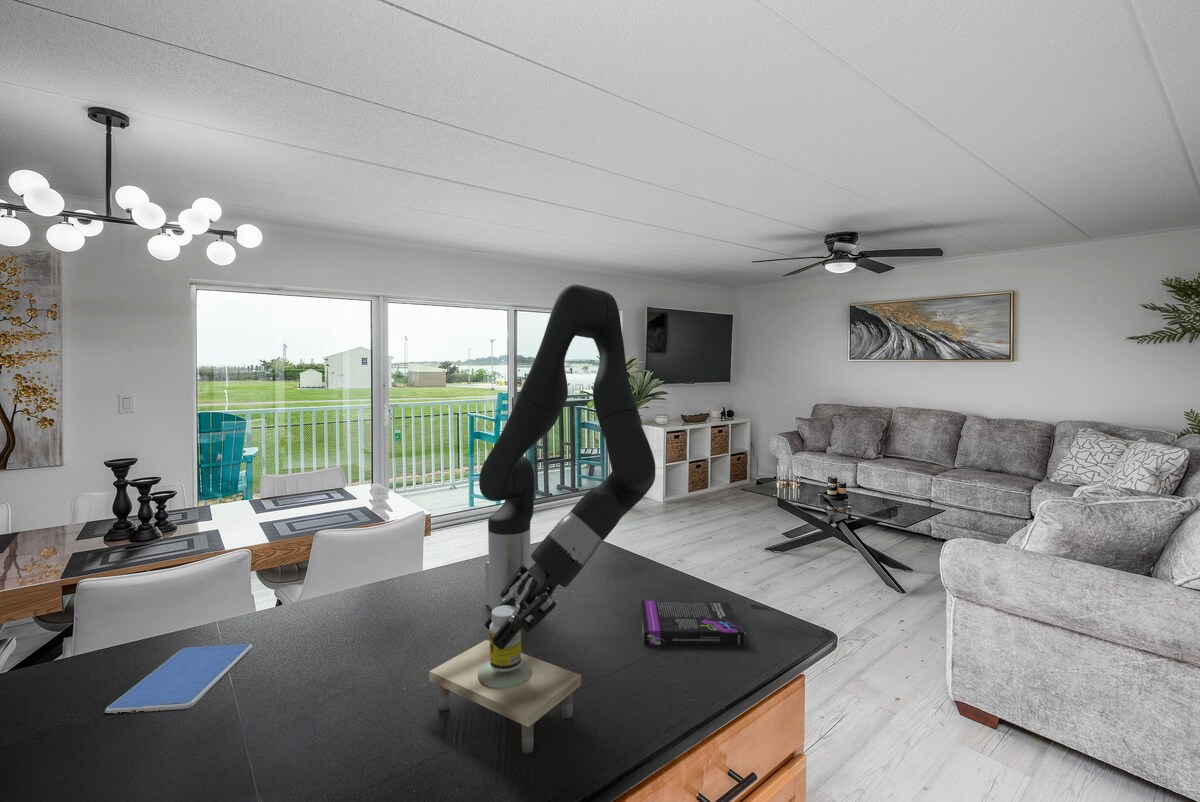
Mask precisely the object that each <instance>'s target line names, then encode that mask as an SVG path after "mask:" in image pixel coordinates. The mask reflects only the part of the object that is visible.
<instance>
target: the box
mask: <svg viewBox="0 0 1200 802" xmlns="http://www.w3.org/2000/svg"><path fill="white" fill-rule="evenodd" d="M639 615H640V623H641V630H642V631H641V632H642V641H643V645H648V646H649V645H654V646H656V645H657V646H658V645H659V646H665V645H666V646H667V645H668V646H746V635H747V634H746V633H747V632H745V630H744V629H743V627H742V625H741V622H740V621H739V618H738V617H737V615H736V613H735V611H734V609H733V607H732V604H731V602H730V601H703V600H702V601H701V600H699V601H693V600H691V601H689V600H688V601H687V600H640V601H639Z"/></svg>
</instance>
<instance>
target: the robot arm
mask: <svg viewBox="0 0 1200 802" xmlns="http://www.w3.org/2000/svg"><path fill="white" fill-rule="evenodd" d="M621 322H622V321H621V315H620V310H619V306H618V303H617V301H616V299H615V297H614V296H613V295H612V294H611V293H610V292H608V291H605V290H601V289H597V288H593V287H590V286H585V285H581V284H576V283H571V284H568V285H566V286H565V287H564V288H563V289H562V290H561V291H560V293H559V294H558V295H557V298H556V299H555V302H554V304H553V307H552V310H551V312H550V314H549V317H548V321H547V324H546V327H545V331H544V333H543V337H542V340H541V342H540V345H539V348H538V351H537V353H536V355H535V358H534V360H533V363H532V365H531V367H530V369H529V372H528V374H527V376H526V377H525V378H526V379H525V380H524V382H523V384H522V387H521V388H520V390H519V393H518V395H517V398H516V400H515V401H514V402H515V403H514V405H513V408H512V409H511V412H510V415H509V416H508V419H507V421H506V423H505V424H504V427H503V429H502V431H501V433H500V435H499V437H498V439H497V440H496V442H495V444H494V445H493V447H492V448H491V450H490V452H489V454H488V456H487V457H486V459H485V460H484V462H483V465H482V466H481V469H480V473H479V478H478V481H479V482H478V484H479V485H478V486H479V490H480V494H481V495H482V496H483V497H484V498H485V499H487V501H491V502H499V501H500V502H501V501H504V502H503V504H502V505H501V506H500V508H498V509H497V510H495V512H493V513H492V514H491V515H489V518H488V521H487V522H488V523H487V524H488V525H487V533H488V534H487V535H488V536H487V537H488V539H487V540H488V544H487V545H488V561H486V562H485V566H484V569H485V575H484V576H485V605H486V606H488V607H489V609H490V610H491V611H492V610H493V609H494V608H496V607H498V606H503V605H511V606H515V607H516V609H515V610H514V612H513V613H512V615H511V617H510V618H509V620H507V621H506V622H505V624H504V625H503V626H502V627H501V628H500V629H499V631H498V632H497V633H496V634H495V635H494V637H493V638H492V643H493V644H494V645H495V646H496V647H498V648H499V649H501V650H502V649H504V648H505V647H506V645H507V644H508V643H509V642H510V641H511V639H512V638H513V637H514V636H515V635H516V634H517V632H518V631H519V630H521V632H522V631H525V633H530V632H531V630H533V629H534V628H535V627H536V626H537V625H538V624H539V623H540V622H541V621H542V620H543V619H544V618H545V617H546V616H547V615H549V614H550V613H551V611H553V609H555V607H556V606H557V602H556V601H555V600H554V599H553V598H552V595H553V593H554V592H555V589H556V588H557V587H558V586H561V587H563V588H567V587H568V586H570V584H571V583H572V582H573V581H574V580H575V578H576V577H577V576H578V575H579V573H580V572H581V571H582V570H583V568H585V566H586V565H587V564H588V562H589V561H590V560H591V559H592V558H593V557H594V555H595V554H596V553H597V551H598V549H599V547H600V546H601V545H602V543H603V541H605V539H606V538H607V537H608V536H609V535H610V533H611V532H612V531H613V530H614V529H615V527H617V525H618V524H619V522H620V521H621V519H622V518H623V517H624V516H625V515H626V514H627V513H628V512H629V511H630V510H632V509H633V507H635V505H637V504H638V503H639V502H640V501H641V500H642V499H643V497H645V495H647V494H648V492H649V491H650V489H651V488H652V487H653V484H654V483H655V481H656V480H655V479H656V461H655V457H654V454H653V451H652V448H651V445H650V443H649V439H648V438H647V435H646V433H645V430H644V429H643V425H642V421H641V416H640V412H639V410H638V407H637V403H636V400H635V396H634V393H633V389H632V386H631V384H630V377H629V374H628V369H627V360H626V353H625V351H626V350H625V345H624V344H625V343H624V336H623V330H622V323H621ZM575 337H579V338H586V339H592V340H593V342H594V343H595V346H596V349H597V352H598V355H599V356H598V357H599V364H598V369H597V373H596V376H595V380H594V383H593V386H592V387H593V388H592V400H593V405H594V409H595V412H596V417H597V420H598V425H599V427H600V430H601V434H602V436H603V437H604V439H605V444H606V445H605V446H606V450H607V454H608V458H609V462H610V467H611V472H610V473H609V475H608V476H607V477H606V478H605V479H604V480H603V481H602V482H601V483H600V484H599V485H598V486H597V487H596V488H595V487H594V488H591V489H589V491H587V492H586V493H585V494H584V495H583V496H582V497H581V499H580V500H579V501H578V502H577V503H576V504H575V505H574V506H573V508H571V510H570V511H569V512H568V513H567V514H566V515H565V516H564V517H562V518H561V520H560V521H558V523H557V524H556V525H555V526H554V527H553V528H552V530H551V531H550V532H549V533H548V534H547V535H546V536H545V538H544V539H543V540H542V541H541V542H540V543H539V545H538V546H537V547H535V549H534V550H533V551H532V553H531V521H532V519H533V515H534V505H535V487H536V486H535V483H536V479H535V471H534V468H533V464H532V462H531V460H529V459H528V457H526V456H524V455H525V454H526V452H527V451H529V450H530V449H531V448H532V447H533V446H534V445H536V443H538V442H539V441H540V440H541V439H542V438H543V437H544V436H545V435H546V434H547V433H548V432H550V430H551V429H552V428H553V427H554V426H555V424H556V423H557V421H558V419H559V416H560V415H561V413H562V411H563V409H564V407H565V405H566V403H567V400H568V397H569V396H568V395H569V390H568V389H569V388H568V379H567V378H568V377H567V374H566V367H565V359H566V356H567V353H568V350H569V348H570V345H571V343H572V341H573V340H574V338H575ZM531 559H532V560H533V561H534V562H535V563H534V564H531ZM531 565H532V566H531ZM491 617H492V614H490V616H489V617H487V619H486V621H484V626H485V628H486V629H487V630H490V624H491V623H492V619H491Z"/></svg>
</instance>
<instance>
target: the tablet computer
mask: <svg viewBox="0 0 1200 802" xmlns="http://www.w3.org/2000/svg"><path fill="white" fill-rule="evenodd" d="M252 649H253V645H252V644H249V643H248V644H247V643H244V644H229V645H228V644H225V645H224V644H223V645H210V646H209V645H208V646H207V645H206V646H191V647H190V646H189V647H183V648H182V649H180V650H178V651H177V652H176V653H175V654H173V655H172V656H170V658H168V659H167V660H165V662H163V663H162V664H161V665H160V666H158V667H157V668H155V670H153V671H152V672H151V673H149V674H148V675H147V676H145V677H144V678H143V679H141V680H140V681H139V682H138V683H137V684H135V685H134V686H132V688H130V689H129V690H128V691H126V692H125V693H124V694H122V695H121V696H120V697H118V698H117V699H116V700H115V701H113V702H112V703H111V704H109V705H108V706H107V707H106V708H105V710H104V713H114V714H122V713H121V712H129V713H140V712H139V711H144V712H155V711H156V712H157V711H159V710H160V711H170V710H171V711H173V710H186V709H189V708H192V707H194V705H195V704H197V703H198V702H199V701H200V700H201V699H202V698H203V697H204V696H205V694H207V692H209V691H210V690H211V688H212V687H213V686H215V684H217V683H218V682H219V680H221V679H222V678H223V677H224V676H225V674H227V673H228V672H229V671H230V670H231V669H232V668H233V667H234V666H235V665H236V664H237V663H239V661H240V660H241V659H242V658H243V657H244V656H246V654H248V652H250V651H251V650H252ZM134 711H136V712H134ZM160 711H159V712H160ZM119 712H120V713H119Z"/></svg>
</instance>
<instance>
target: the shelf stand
mask: <svg viewBox="0 0 1200 802" xmlns="http://www.w3.org/2000/svg"><path fill="white" fill-rule="evenodd" d="M521 660H522V661H521V664H520V666H519V667H518V668H516V669H514V670H511V671H506V672H500V671H496V670H494V669H493V668H492V667H491V665H490V640H489V639H485V640H483V641H481V642H479V643H478V644H476V645H474V646H473V647H471V648H468V649H467V650H465V651H464V652H462V653H460V654H458V655H456V656H454V657H452V658H450V659H449V660H447V661H446V662H443V663H442V664H440V665H438V666H437V667H434V668H433V669H431V670H429V672H428V675H429V678H428V679H429V682H432V683H433V684H436V685H437V687H438V710H439V711H442V712H443V711H447V710H449V709H450V707H451V706H450V704H451V703H450V692H452V693H455V694H457V695H459V696H461V697H463V698H464V699H468V700H469V701H471V702H473V703H475V704H477V705H481V706H482V707H484V708H486V709H488V710H490V711H493V712H494V713H497V714H500V715H501V716H503V717H505V718H507V719H510V720H511V721H514V722H515V723H519V724H520V725H521V751H522V753H523V754H531V753H533V751H534V748H535V746H534V745H535V744H534V743H535V742H534V741H535V740H534V737H535V736H534V724H535V723H536V722H537V721H538V720H540V719H541V718H542V717H543V716H545V715H546V714H547V713H548V712H550V711H551V710H552V709H553V708H554V707H556V706H557V705H558V704H559V703H561V717H562V719H566V720H567V719H571V718H572V717H573V713H574V712H573V711H574V710H573V707H574V706H573V698H574V697H573V692H575V691H576V690H577V688H579V687H581V686H582V674H579V673H577V672H573V671H570V670H568V669H565V668H563V667H560V666H558V665H554V664H553V663H549V662H547V661H543V660H541V659H538V658H536V657H533V656H531V655H528V654H525V653H523V652H521Z"/></svg>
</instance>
